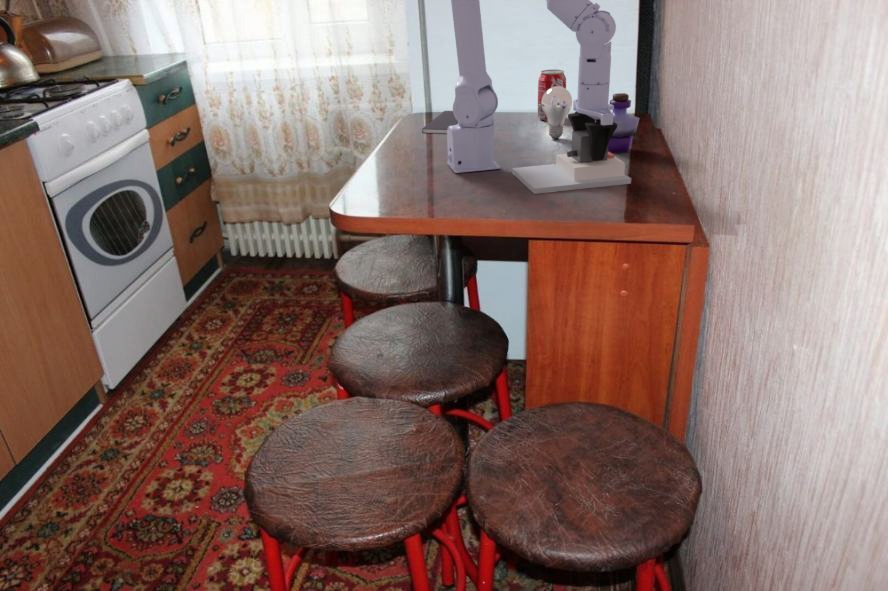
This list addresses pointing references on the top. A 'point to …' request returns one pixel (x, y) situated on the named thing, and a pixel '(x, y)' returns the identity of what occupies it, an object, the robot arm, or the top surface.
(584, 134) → the plug
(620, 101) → the potion bottle
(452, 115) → the notebook
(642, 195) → the top surface
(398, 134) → the top surface
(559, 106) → the light bulb
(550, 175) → the socket mat
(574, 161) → the socket plate
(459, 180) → the top surface
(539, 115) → the soda can
